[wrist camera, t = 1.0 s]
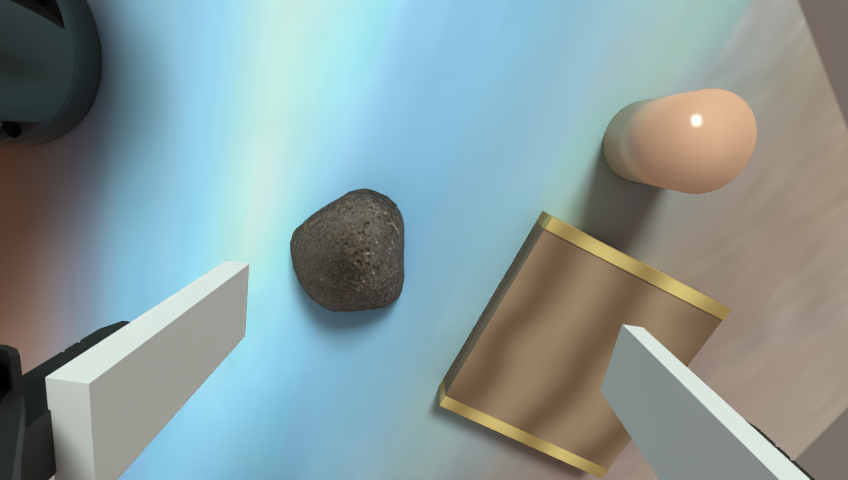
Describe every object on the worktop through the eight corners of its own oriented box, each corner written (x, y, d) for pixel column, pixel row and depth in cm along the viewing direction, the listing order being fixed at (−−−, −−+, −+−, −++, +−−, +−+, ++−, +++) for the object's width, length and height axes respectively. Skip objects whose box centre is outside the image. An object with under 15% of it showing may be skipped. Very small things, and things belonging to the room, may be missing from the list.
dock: (439, 386, 36) (439, 405, 33) (542, 210, 32) (552, 217, 29) (590, 455, 37) (602, 478, 35) (708, 296, 33) (731, 309, 31)
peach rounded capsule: (587, 159, 31) (631, 165, 24) (632, 85, 29) (692, 69, 22) (652, 194, 31) (714, 210, 24) (699, 123, 30) (778, 119, 23)
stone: (350, 291, 38) (425, 330, 31) (263, 293, 32) (334, 343, 25) (371, 189, 37) (453, 208, 30) (286, 170, 31) (365, 189, 24)
